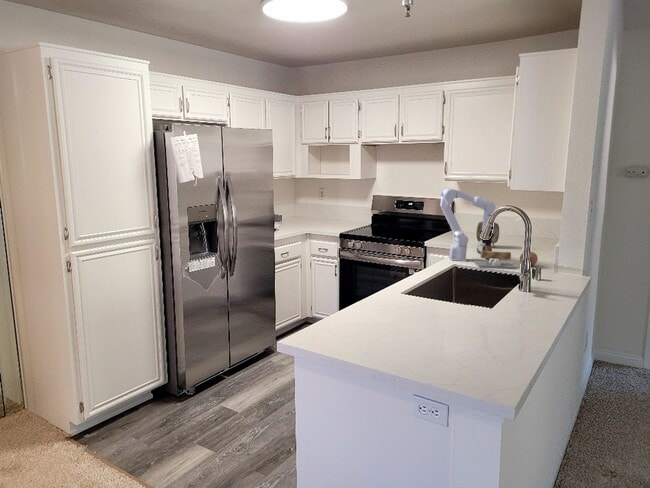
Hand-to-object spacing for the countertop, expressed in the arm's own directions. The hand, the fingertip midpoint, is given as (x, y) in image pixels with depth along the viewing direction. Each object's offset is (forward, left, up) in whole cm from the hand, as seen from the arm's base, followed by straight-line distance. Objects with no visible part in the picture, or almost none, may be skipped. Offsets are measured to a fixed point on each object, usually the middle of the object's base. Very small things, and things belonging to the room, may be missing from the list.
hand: (485, 244), depth 284 cm
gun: (+4, +15, -10) cm, 19 cm away
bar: (+2, -15, -5) cm, 16 cm away
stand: (+2, -15, -10) cm, 18 cm away
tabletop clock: (+13, +48, -10) cm, 51 cm away
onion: (+22, -11, -10) cm, 27 cm away
